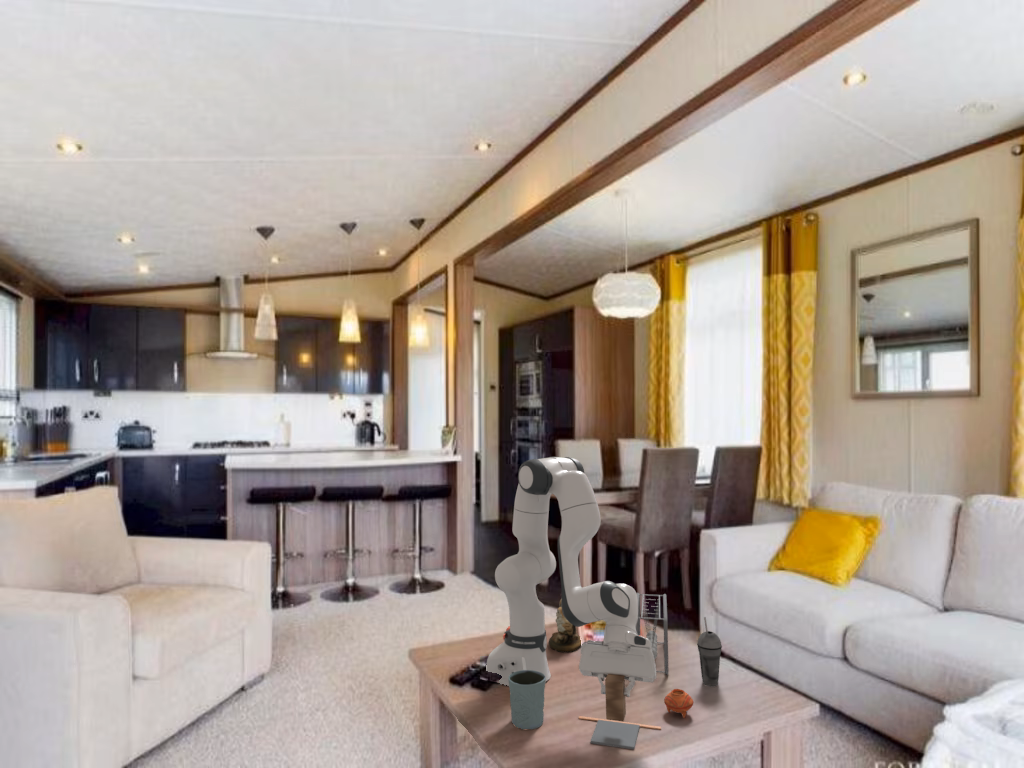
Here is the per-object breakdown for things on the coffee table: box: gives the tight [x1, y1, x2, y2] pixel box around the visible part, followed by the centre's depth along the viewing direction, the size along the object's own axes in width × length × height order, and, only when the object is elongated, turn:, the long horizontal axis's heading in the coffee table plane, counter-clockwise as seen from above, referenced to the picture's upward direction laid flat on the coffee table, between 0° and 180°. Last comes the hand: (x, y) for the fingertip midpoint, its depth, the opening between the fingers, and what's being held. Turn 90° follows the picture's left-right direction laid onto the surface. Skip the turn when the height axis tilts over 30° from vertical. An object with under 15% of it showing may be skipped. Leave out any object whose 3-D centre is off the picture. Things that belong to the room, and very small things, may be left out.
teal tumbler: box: [508, 670, 546, 730], centre depth 179 cm, size 10×10×12 cm
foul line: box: [578, 715, 662, 731], centre depth 177 cm, size 22×1×1 cm, turn 72°
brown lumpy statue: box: [548, 599, 581, 653], centre depth 236 cm, size 18×12×17 cm, turn 174°
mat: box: [590, 720, 641, 750], centre depth 171 cm, size 11×12×1 cm
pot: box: [663, 688, 695, 719], centre depth 182 cm, size 8×8×7 cm
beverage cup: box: [697, 616, 723, 688], centre depth 201 cm, size 7×7×20 cm
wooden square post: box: [604, 674, 627, 722], centre depth 171 cm, size 4×4×10 cm
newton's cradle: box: [636, 592, 669, 676], centre depth 222 cm, size 30×10×18 cm, turn 168°
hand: (615, 694), depth 170 cm, fingers closed on wooden square post, 4 cm apart
